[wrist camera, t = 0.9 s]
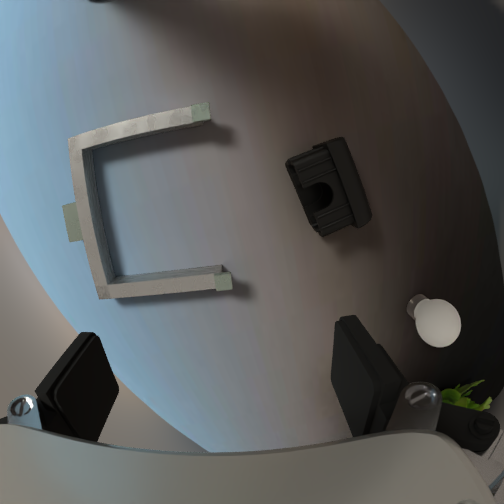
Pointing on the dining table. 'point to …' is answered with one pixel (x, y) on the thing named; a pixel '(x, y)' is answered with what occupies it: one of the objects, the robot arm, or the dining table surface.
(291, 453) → the robot arm
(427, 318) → the light bulb
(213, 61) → the dining table surface
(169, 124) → the mounting bracket
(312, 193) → the end cap
